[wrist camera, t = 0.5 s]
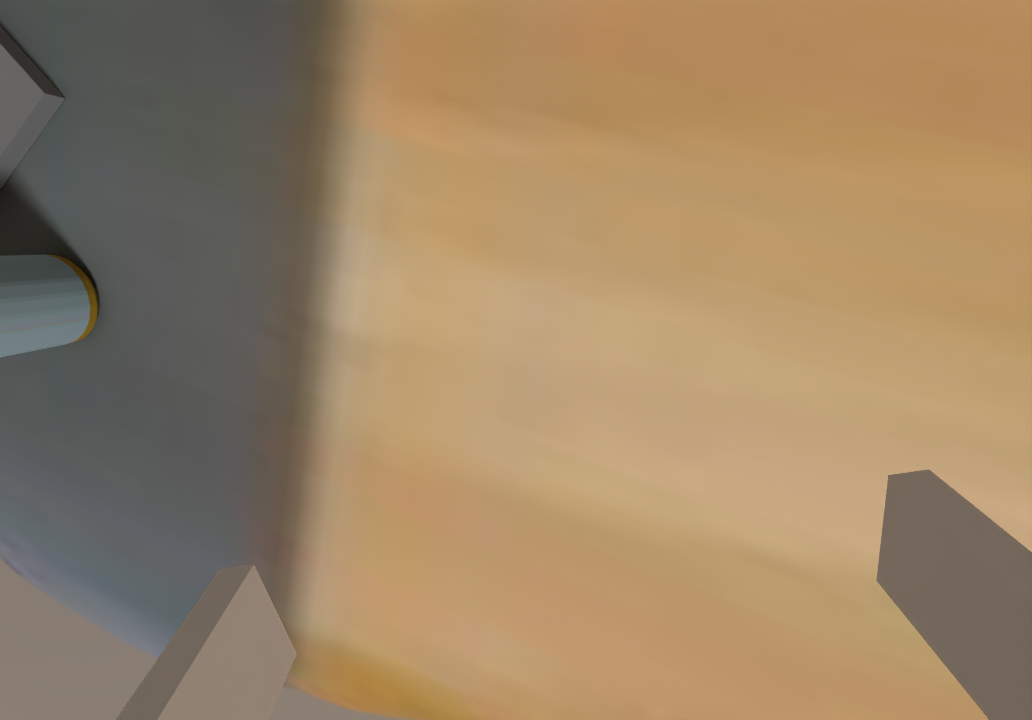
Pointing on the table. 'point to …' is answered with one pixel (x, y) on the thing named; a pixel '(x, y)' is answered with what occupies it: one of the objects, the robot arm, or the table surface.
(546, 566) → the table surface
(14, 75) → the shelf unit
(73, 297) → the bottle
